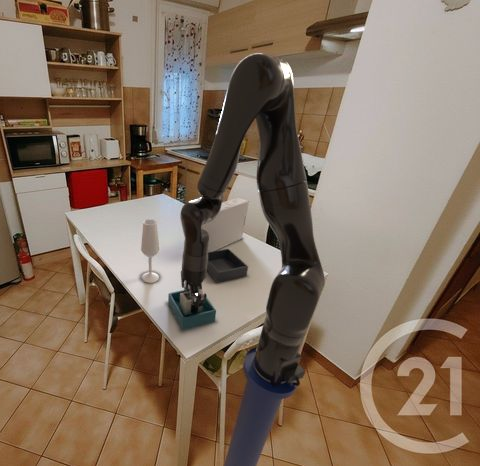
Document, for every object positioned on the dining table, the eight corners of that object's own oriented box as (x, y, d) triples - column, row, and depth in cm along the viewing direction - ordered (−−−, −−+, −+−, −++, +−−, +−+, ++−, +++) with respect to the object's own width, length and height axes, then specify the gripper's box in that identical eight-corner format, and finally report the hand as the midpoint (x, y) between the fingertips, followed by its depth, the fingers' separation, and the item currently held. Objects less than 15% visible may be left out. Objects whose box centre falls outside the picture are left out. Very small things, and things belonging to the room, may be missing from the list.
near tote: (214, 321, 83) (216, 310, 81) (182, 330, 80) (183, 319, 78) (197, 296, 93) (198, 286, 91) (168, 303, 90) (168, 293, 88)
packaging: (232, 233, 136) (238, 197, 127) (242, 238, 132) (249, 201, 122) (189, 252, 120) (192, 211, 110) (199, 258, 115) (203, 216, 106)
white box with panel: (201, 311, 85) (203, 297, 82) (184, 315, 83) (185, 302, 80) (195, 301, 89) (196, 288, 86) (179, 305, 87) (180, 292, 84)
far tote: (246, 275, 104) (248, 266, 102) (217, 282, 100) (218, 272, 98) (227, 257, 116) (228, 248, 114) (200, 262, 112) (201, 253, 110)
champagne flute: (159, 272, 105) (160, 218, 94) (158, 283, 99) (158, 226, 88) (143, 271, 106) (142, 217, 95) (140, 282, 100) (138, 225, 89)
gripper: (173, 252, 82) (171, 295, 90) (193, 280, 70) (189, 325, 78) (195, 249, 84) (191, 290, 92) (218, 274, 73) (211, 319, 81)
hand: (190, 306), depth 85 cm, fingers closed on white box with panel, 4 cm apart
